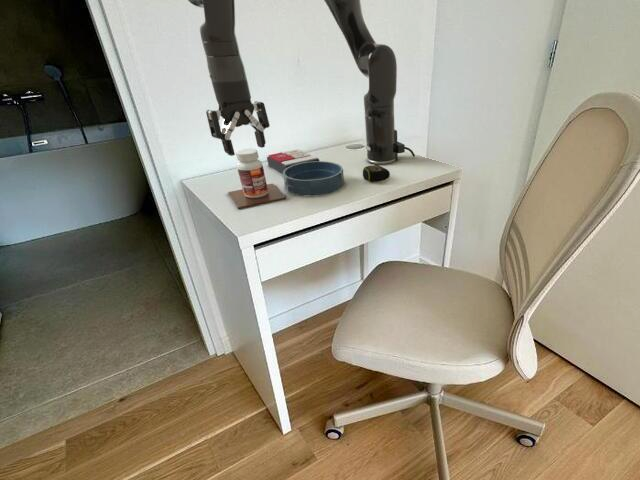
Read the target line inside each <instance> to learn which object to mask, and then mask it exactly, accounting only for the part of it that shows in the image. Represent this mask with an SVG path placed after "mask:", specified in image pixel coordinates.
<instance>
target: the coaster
mask: <svg viewBox="0 0 640 480" xmlns="http://www.w3.org/2000/svg"><path fill="white" fill-rule="evenodd" d="M267 188H268V194H267V195H265V196H263V197H259V198H248V197H246V196H245V195H244V192H243V188H242V189H237V190H233V191H228V192H227V193H228V195H229V197H230V199H231V200H232V201H233V203H234V204H235V205H236V207H237V209H238V210H242V209H243V210H244V209H247V208H251V207H256V206H261V205H266V204H270V203H275V202H279V201H284V200H287V197H286V195H284V194H283V192H282V191H281V190H280V189H279V188H278V187H277V186H275V184H274V183H273V182H272V183H267Z"/></svg>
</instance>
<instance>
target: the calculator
mask: <svg viewBox="0 0 640 480" xmlns="http://www.w3.org/2000/svg"><path fill="white" fill-rule="evenodd" d="M266 160H267V165H268V167H269V168H271V169H273V170H275V171H277V172H279V173H281V174H282V175H283V171H284V170H285V169H286V168H288V167H290V166H292V165H295V164H299V163H304V162H313V161H320V158H318V157H316V156H314V155H312V154H311V153H307V152H306V151H302V150H300V149H292V150H287V151H284V152H278V153H272V154H268V156H266Z"/></svg>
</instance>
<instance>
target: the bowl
mask: <svg viewBox="0 0 640 480" xmlns="http://www.w3.org/2000/svg"><path fill="white" fill-rule="evenodd" d="M282 177H283V182H284V188H285V190H286V191H287V192H288V193H290V194H293V195H295V196H296V195H297V196H302V197H303V196H305V197H314V196H315V197H316V196H323V195H328V194H331V193H334V192H337V191H339V190H341V189H342V188H344V185H345V175H344V168H343V166H342V165H340V164H339V163H336V162H332V161H325V160H324V161H323V160H319V161H313V162H304V163H299V164H295V165H292V166H290V167H288V168H286V169H285V170H284V171H283V174H282Z"/></svg>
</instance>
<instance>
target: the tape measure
mask: <svg viewBox="0 0 640 480" xmlns="http://www.w3.org/2000/svg"><path fill="white" fill-rule="evenodd" d="M362 177H363V180H364V181H367V182H370V183H380V182H383V181H385V180H388V179H389V178H390V177H391V172H390V170H389V169H387V168H385V167H383V166H381V165H380V164H372V165H367V166H366V165H365V166H364V167H363V169H362Z"/></svg>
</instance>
